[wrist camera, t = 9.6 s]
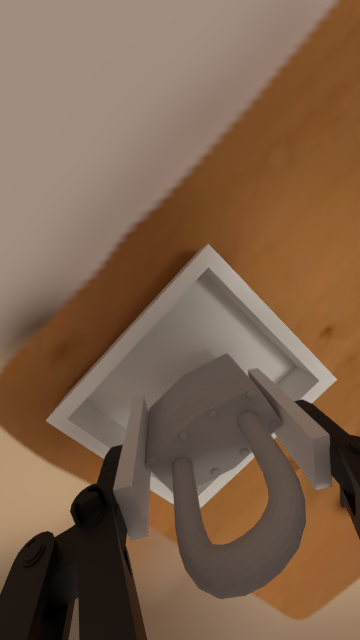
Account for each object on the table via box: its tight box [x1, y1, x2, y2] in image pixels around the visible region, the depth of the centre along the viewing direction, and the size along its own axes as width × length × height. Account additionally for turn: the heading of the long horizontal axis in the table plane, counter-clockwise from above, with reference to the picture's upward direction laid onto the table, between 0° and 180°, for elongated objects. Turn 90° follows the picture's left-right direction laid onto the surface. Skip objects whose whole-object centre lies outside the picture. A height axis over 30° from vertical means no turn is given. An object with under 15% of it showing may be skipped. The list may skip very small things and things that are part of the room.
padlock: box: [145, 354, 306, 599], centre depth 11 cm, size 7×4×10 cm, turn 126°
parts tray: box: [46, 244, 337, 508], centre depth 17 cm, size 16×14×4 cm
